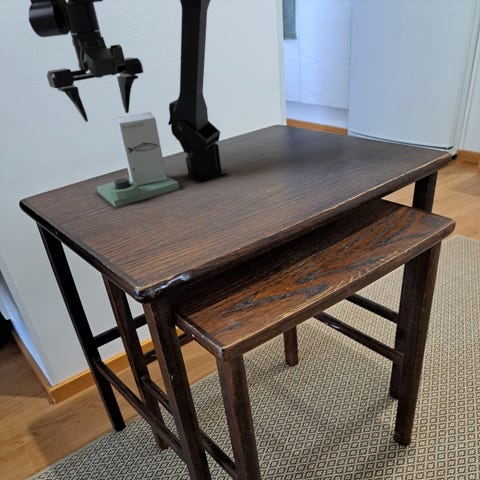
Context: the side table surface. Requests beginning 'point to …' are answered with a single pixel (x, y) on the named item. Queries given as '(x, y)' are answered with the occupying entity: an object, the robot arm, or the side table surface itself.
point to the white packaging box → (141, 148)
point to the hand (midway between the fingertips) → (107, 117)
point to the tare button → (122, 183)
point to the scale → (135, 191)
